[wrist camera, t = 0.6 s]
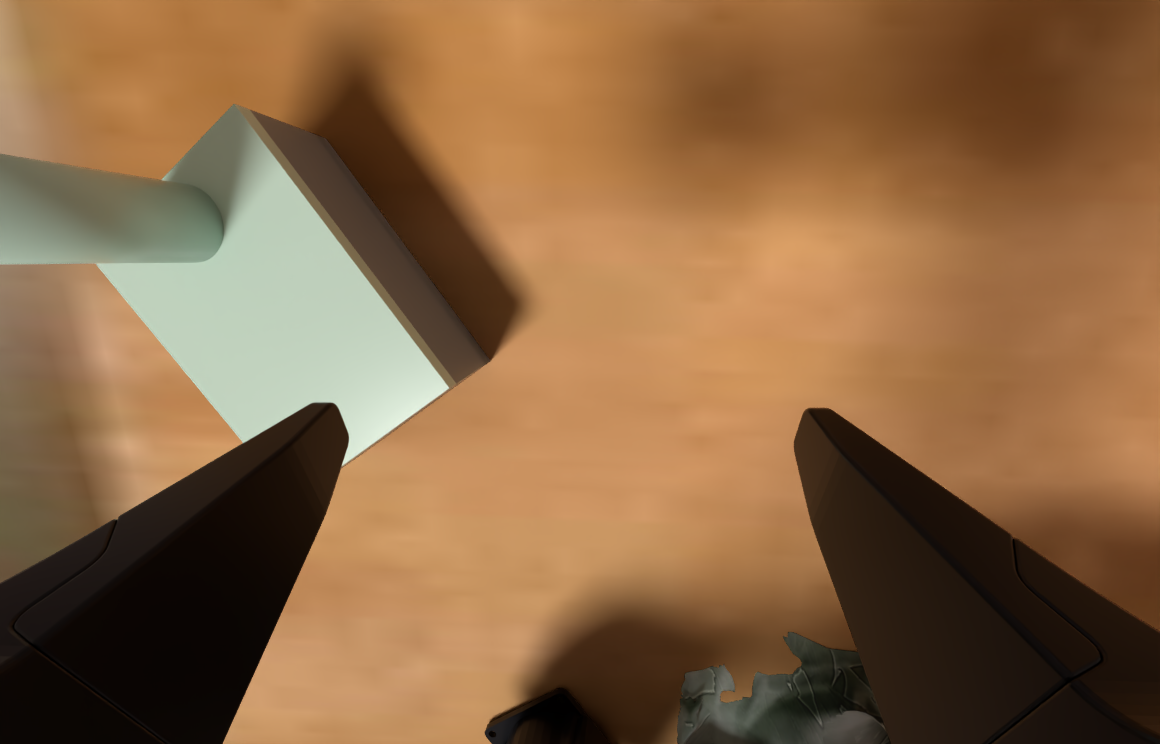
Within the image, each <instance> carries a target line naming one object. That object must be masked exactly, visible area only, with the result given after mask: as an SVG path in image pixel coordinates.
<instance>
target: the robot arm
mask: <svg viewBox="0 0 1160 744" xmlns="http://www.w3.org/2000/svg"><path fill="white" fill-rule="evenodd" d="M348 444H349V434H348V431H347V428H346V426H345V423H344V421H343V418H342V416H341V413H340V410H339V408H338V406H337V405H336V404H334V403H331V402H314V403H311V404H309V405H307V406H305V407H304V408H302V409H300V410H299V411H297V412H295V413H294V414H292V415H290V416H288V417H287V418H285V419H283V420H282V421H280V422H278V423H277V424H275V425H273V426H271V427H270V428H268V429H266V430H265V431H263V432H261V433H260V434H258V435H256V436H254V437H253V438H251V439H249V440H248V441H246V442H244V443H243V444H241V445H239V446H238V447H236V448H234V449H232V450H231V451H229V452H227V453H226V454H224V455H222V456H221V457H219V458H217V459H215V460H214V461H212V462H210V463H209V464H207V465H205V466H204V467H202V468H200V469H198V470H197V471H195V472H193V473H192V474H190V475H188V476H187V477H185V478H183V479H181V480H180V481H178V482H176V483H175V484H173V485H171V486H170V487H168V488H166V489H164V490H163V491H161V492H159V493H158V494H156V495H154V496H153V497H151V498H149V499H147V500H146V501H144V502H142V503H141V504H139V505H137V506H136V507H134V508H132V509H130V510H129V511H127V512H125V513H124V514H122V515H120V516H119V517H118V520H117V519H114V520H112V521H110V522H108V523H106V524H105V525H103V526H101V527H100V528H98V529H96V530H95V531H93V532H91V533H90V534H88V535H86V536H84V537H83V538H81V539H79V540H77V541H76V542H74V543H72V544H70V545H69V546H67V547H65V548H63V549H62V550H60V551H58V552H56V553H55V554H53V555H51V556H49V557H48V558H46V559H44V560H42V561H40V562H38V563H36V564H35V565H33V566H31V567H29V568H27V569H25V570H24V571H22V572H20V573H18V574H16V575H14V576H12V577H11V578H9V579H7V580H5V581H3V582H1V583H0V744H223V741H224V739H225V737H226V735H227V733H228V730H229V728H230V726H231V724H232V722H233V719H234V717H235V715H236V713H237V710H238V708H239V706H240V704H241V702H242V699H243V697H244V695H245V693H246V690H247V688H248V686H249V684H250V682H251V679H252V677H253V675H254V673H255V671H256V668H257V666H258V664H259V662H260V659H261V657H262V655H263V653H264V651H265V648H266V646H267V644H268V642H269V639H270V637H271V635H272V633H273V631H274V628H275V626H276V624H277V622H278V619H279V617H280V615H281V613H282V611H283V608H284V606H285V604H286V602H287V600H288V597H289V595H290V593H291V591H292V588H293V586H294V584H295V582H296V580H297V577H298V575H299V573H300V571H301V568H302V566H303V564H304V562H305V560H306V557H307V555H308V553H309V551H310V549H311V546H312V544H313V542H314V540H315V537H316V535H317V533H318V531H319V529H320V526H321V524H322V522H323V519H324V517H325V515H326V512H327V509H328V506H329V504H330V501H331V498H332V495H333V491H334V488H335V485H336V482H337V479H338V476H339V473H340V470H341V467H342V464H343V460H344V457H345V454H346V451H347V448H348ZM794 452H795V457H796V461H797V465H798V470H799V474H800V478H801V482H802V487H803V491H804V495H805V499H806V504H807V508H808V512H809V516H810V520H811V523H812V526H813V529H814V532H815V535H816V538H817V541H818V544H819V546H820V549H821V552H822V555H823V557H824V560H825V563H826V566H827V568H828V571H829V574H830V577H831V579H832V582H833V585H834V588H835V590H836V593H837V596H838V599H839V601H840V604H841V607H842V610H843V612H844V615H845V618H846V620H847V623H848V626H849V629H850V631H851V634H852V637H853V640H854V642H855V645H856V648H857V651H858V653H859V656H860V659H861V662H862V664H863V667H864V670H865V673H866V675H867V678H868V681H869V684H870V686H871V689H872V692H873V695H874V697H875V700H876V703H877V706H878V708H879V711H880V714H881V717H882V719H883V722H884V725H885V727H886V730H887V733H888V736H889V738H890V741H891V744H1160V631H1158V630H1157V629H1155V628H1153V627H1152V626H1150V625H1148V624H1147V623H1145V622H1144V621H1142V620H1140V619H1139V618H1137V617H1136V616H1134V615H1132V614H1131V613H1129V612H1127V611H1126V610H1124V609H1123V608H1121V607H1120V606H1118V605H1116V604H1115V603H1113V602H1112V601H1110V600H1109V599H1107V598H1105V597H1104V596H1102V595H1101V594H1099V593H1097V592H1096V591H1094V590H1093V589H1091V588H1090V587H1088V586H1086V585H1085V584H1083V583H1082V582H1080V581H1079V580H1077V579H1076V578H1074V577H1073V576H1071V575H1070V574H1068V573H1067V572H1065V571H1064V570H1062V569H1061V568H1059V567H1058V566H1056V565H1055V564H1053V563H1052V562H1051V561H1049V560H1048V559H1046V558H1045V557H1043V556H1042V555H1040V554H1039V553H1037V552H1036V551H1034V550H1033V549H1032V548H1030V547H1029V546H1027V545H1026V544H1024V543H1023V542H1022V541H1020V540H1019V539H1016V538H1014V539H1013V537H1012V535H1011V534H1010V533H1008V532H1007V531H1005V530H1004V529H1003V528H1001V527H1000V526H998V525H997V524H995V523H994V522H993V521H991V520H990V519H988V518H987V517H985V516H984V515H982V514H981V513H980V512H978V511H977V510H975V509H974V508H972V507H971V506H969V505H968V504H967V503H965V502H964V501H962V500H961V499H959V498H958V497H957V496H955V495H954V494H952V493H951V492H949V491H948V490H946V489H945V488H944V487H942V486H941V485H939V484H938V483H936V482H935V481H934V480H932V479H931V478H929V477H928V476H926V475H925V474H923V473H922V472H921V471H919V470H918V469H916V468H915V467H913V466H912V465H911V464H909V463H908V462H906V461H905V460H903V459H902V458H900V457H899V456H898V455H896V454H895V453H893V452H892V451H890V450H889V449H887V448H886V447H885V446H883V445H882V444H880V443H879V442H877V441H876V440H875V439H873V438H872V437H870V436H869V435H867V434H866V433H864V432H863V431H862V430H860V429H859V428H857V427H856V426H854V425H853V424H852V423H850V422H849V421H847V420H846V419H844V418H843V417H841V416H840V415H839V414H837V413H836V412H834V411H833V410H831V409H829V408H808V409H806V410H805V411H804V413H803V415H802V418H801V421H800V424H799V427H798V430H797V433H796V436H795V440H794ZM560 697H563V698H560ZM485 735H486V737H487V738H488V740H489V741H490V742H491V743H492V744H610V743H609V742H608V740H607V739H606V738H605V737H604V735H603V734H602V733H601V732H600V730H599V729H598V728H597V727H596V725H595V724H594V723H593V721H592V720H591V719H590V718H589V717H588V716H587V715H586V713H585V712H584V711H583V710H582V708H581V707H580V706H579V704H578V703H577V702H576V701H575V699H574V698H573V697H572V696H571V694H570V693H569V692H568V691H567V690H566V689H564V688H559V689H556V690H554V691H552V692H550V693H548V694H546V695H544V696H542V697H540V698H538V699H536V700H534V701H532V702H530V703H528V704H526V705H524V706H522V707H520V708H518V709H516V710H514V711H512V712H510V713H508V714H506V715H504V716H502V717H500V718H498V719H496V720H494V721H492V722H490V723H489V724H488V725H487V727H486V730H485Z"/></svg>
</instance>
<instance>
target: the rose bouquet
mask: <svg viewBox="0 0 1160 744" xmlns="http://www.w3.org/2000/svg"><path fill="white" fill-rule="evenodd" d="M783 638H784V640H785V642H786V644H787V645H788V647H789V648H790V650H791V651H792V653H793V654H794V655H796V656H797V657H798V658H799V659H800V660H801V662H802V665H801V666H800V667H799V668H797V669H796V671H794V673H793V674H790V675H788V674H776V675H766V674H761V673H760V672H757V673H756V674H755V676H754V681H753V687H752V696H751V697H750V698H749V697H743V698H742V700H739V701H734V702H729V703H724V702H721V701H720V697H721V696H720V694H721V692H722V691H733V692H735V685H734V681H733V678H732V676H731V675H730V673H729V672H728V671H727V670H726V668H725V666H724V664H723V666H720V665H719V668H717V667H713V666H711V667H709V668H706V669H704V670H698V671H694V672H687V673H685V676H684V677H685V681H684V683H683V685H682V687H681V691H682V694H681V696H682V699H680V705H681V708H680V712H679V715H678V726H677V733H678V736H677V742H678V744H891V741H890V738H889V736H888V733H887V730H886V727H885V725H884V722H883V719H882V717H881V714H880V711H879V708H878V706H877V703H876V700H875V697H874V695H873V692H872V689H871V686H870V684H869V681H868V678H867V675H866V673H865V670H864V667H863V664H862V662H861V659H860V656H859V653H858V652H852V651H844V650H837V649H829V648H826V647H824V646H822V645H820V644H817V643H815V642H813V641H811V640H809V639H807V638H805V637H802V636H800V635H798V634H796V633H794V632H788V637H784V636H783Z"/></svg>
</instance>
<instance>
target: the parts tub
mask: <svg viewBox="0 0 1160 744" xmlns="http://www.w3.org/2000/svg"><path fill="white" fill-rule="evenodd" d="M250 111H251V112H252V113H253V115H254V116H255V117H256V119H257V120H258V121H259V123H260V124H261V125H262V127H263V128H264V129H265V131H266V132H267V133H268V135H269V136H270V137H271V139H272V140H273V141H274V143H275V144H276V145H277V147H278V148H279V149H280V150H281V152H282V153H283V154H284V156H285V157H286V158H287V160H288V161H289V162H290V164H291V165H292V166H293V168H294V169H295V170H296V172H297V173H298V174H299V176H300V177H301V178H302V180H303V181H304V182H305V184H306V185H307V186H308V188H309V189H310V190H311V192H312V193H313V194H314V196H315V197H316V198H317V200H318V201H319V202H320V204H321V205H322V206H323V207H324V209H325V210H326V211H327V213H328V214H329V215H330V217H331V218H332V219H333V221H334V222H335V223H336V225H337V226H338V227H339V229H340V230H341V231H342V233H343V234H344V235H345V237H346V238H347V239H348V241H349V242H350V243H351V245H352V246H353V247H354V249H355V250H356V251H357V253H358V254H359V255H360V257H361V258H362V259H363V261H364V262H365V263H366V264H367V266H368V267H369V268H370V270H371V271H372V272H373V274H374V275H375V276H376V278H377V279H378V280H379V282H380V283H381V284H382V286H383V287H384V288H385V290H386V291H387V292H388V294H389V295H390V296H391V298H392V299H393V300H394V302H395V303H396V304H397V306H398V307H399V308H400V310H401V311H402V312H403V314H404V315H405V316H406V318H407V319H408V320H409V321H410V323H411V324H412V325H413V327H414V328H415V329H416V331H417V332H418V333H419V335H420V336H421V337H422V339H423V340H424V341H425V343H426V344H427V345H428V347H429V348H430V349H431V351H432V352H433V353H434V355H435V356H436V357H437V359H438V360H439V361H440V363H441V364H442V365H443V367H444V368H445V369H446V371H447V372H448V373H449V375H450V376H451V377H452V379H453V380H454V381H455V382H456V384H455V385H454V386H452V387H451V388H449V389H448V390H447V391H445V392H444V393H443V394H441V395H440V396H438V397H437V398H436V399H434V400H433V401H432V402H430V403H429V404H427V405H426V406H425V407H423V408H422V409H421V410H419V411H418V412H416V413H415V414H414V415H412V416H411V417H410V418H408V419H407V420H405V421H404V422H403V423H401V424H400V425H399V426H397V427H396V428H394V429H393V430H392V431H390V432H389V433H387V434H386V435H385V436H383V437H382V438H381V439H379V440H378V441H376V442H375V443H374V444H372V445H371V446H370V447H368V448H367V449H365V450H364V451H363V452H361V453H360V454H359V455H357V456H356V457H354V458H353V459H352V460H350V461H349V462H348V463H350V462H351V461H353V460H354V459H356V458H357V457H359V456H360V455H361V454H363V453H364V452H366V451H367V450H368V449H370V448H371V447H373V446H374V445H375V444H377V443H378V442H379V441H381V440H382V439H384V438H385V437H386V436H388V435H389V434H390V433H392V432H393V431H395V430H396V429H397V428H399V427H400V426H402V425H403V424H404V423H406V422H407V421H408V420H410V419H411V418H413V417H414V416H415V415H417V414H418V413H419V412H421V411H422V410H424V409H425V408H426V407H428V406H429V405H431V404H432V403H433V402H435V401H436V400H437V399H439V398H440V397H442V396H443V395H444V394H446V393H447V392H448V391H450V390H451V389H453V388H454V387H455V386H457V385H458V384H460V383H461V382H462V381H464V380H465V379H466V378H468V377H469V376H471V375H472V374H473V373H475V372H476V371H477V370H479V369H480V368H482V367H483V366H484V365H486V364H487V363H489V362H490V359H489V358H488V357H487V355H486V354H485V353H484V351H483V350H482V349H481V347H480V346H479V345H478V343H477V342H476V341H475V339H474V338H473V337H472V335H471V334H470V332H469V331H468V330H467V328H466V327H465V326H464V324H463V323H462V322H461V320H460V319H459V318H458V316H457V315H456V314H455V312H454V311H453V310H452V308H451V307H450V305H449V304H448V303H447V301H446V300H445V299H444V297H443V296H442V295H441V293H440V292H439V291H438V289H437V288H436V287H435V285H434V284H433V283H432V281H431V280H430V278H429V277H428V276H427V274H426V273H425V272H424V270H423V269H422V268H421V266H420V265H419V264H418V262H417V261H416V260H415V258H414V257H413V255H412V254H411V253H410V251H409V250H408V249H407V247H406V246H405V245H404V243H403V242H402V241H401V239H400V238H399V237H398V235H397V234H396V233H395V231H394V230H393V228H392V227H391V226H390V224H389V223H388V222H387V220H386V219H385V218H384V216H383V215H382V214H381V212H380V211H379V210H378V208H377V207H376V206H375V204H374V203H373V201H372V200H371V199H370V197H369V196H368V195H367V193H366V192H365V191H364V189H363V188H362V187H361V185H360V184H359V183H358V181H357V180H356V179H355V177H354V176H353V174H352V173H351V172H350V170H349V169H348V168H347V166H346V165H345V164H344V162H343V161H342V160H341V158H340V157H339V156H338V154H337V153H336V152H335V150H334V149H333V147H332V146H331V145H330V143H329V142H328V141H327V139H326V138H324V137H321V136H318V135H316V134H313V133H310V132H308V131H305V130H302V129H300V128H297V127H294V126H292V125H289V124H286V123H284V122H281V121H279V120H276V119H273V118H271V117H268V116H265V115H263V114H260V113H257V112H255V111H252V110H250ZM348 463H346V464H345V465H343V466H342V467H341V468H343V467H344V466H346V465H347V464H348Z"/></svg>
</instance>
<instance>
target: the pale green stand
mask: <svg viewBox="0 0 1160 744" xmlns="http://www.w3.org/2000/svg"><path fill="white" fill-rule="evenodd" d="M0 264H96V265H97V266H98V267H99V269H100V270H101V271H102V272H103V273H104V275H105V276H106V277H107V278H108V279H109V281H110V282H111V283H112V284H113V286H114V287H115V288H116V289H117V290H118V292H119V293H120V294H121V295H122V296H123V298H124V299H125V300H126V301H127V303H128V304H129V305H130V306H131V307H132V309H133V310H134V311H135V312H136V313H137V315H138V316H139V317H140V318H141V319H142V321H143V322H144V323H145V324H146V326H147V327H148V328H149V329H150V330H151V332H152V333H153V334H154V335H155V336H156V338H157V339H158V340H159V341H160V342H161V344H162V345H163V346H164V347H165V349H166V350H167V351H168V352H169V353H170V355H171V356H172V357H173V358H174V359H175V361H176V362H177V363H178V364H179V366H180V367H181V368H182V369H183V370H184V372H185V373H186V374H187V375H188V376H189V378H190V379H191V380H192V381H193V382H194V384H195V385H196V386H197V387H198V389H199V390H200V391H201V392H202V393H203V395H204V396H205V397H206V398H207V399H208V401H209V402H210V403H211V404H212V405H213V407H214V408H215V409H216V410H217V412H218V413H219V414H220V415H221V416H222V418H223V419H224V420H225V421H226V422H227V424H228V425H229V426H230V427H231V429H232V430H233V431H234V432H235V433H236V435H237V436H238V437H239V438H240V439H241V441H242V442H243V443H244V442H246V441H248V440H249V439H251V438H253V437H254V436H256V435H258V434H260V433H261V432H263V431H265V430H266V429H268V428H270V427H271V426H273V425H275V424H277V423H278V422H280V421H282V420H283V419H285V418H287V417H288V416H290V415H292V414H294V413H295V412H297V411H299V410H300V409H302V408H304V407H305V406H307V405H309V404H311V403H314V402H331V403H334V404H336V405H337V406H338V408H339V410H340V413H341V416H342V418H343V421H344V423H345V426H346V428H347V431H348V434H349V444H348V448H347V451H346V454H345V457H344V460H343V464H342V466H343V465H345V464H346V463H348V462H349V461H350V460H352V459H353V458H354V457H356V456H357V455H359V454H360V453H361V452H363V451H364V450H365V449H367V448H368V447H370V446H371V445H372V444H374V443H375V442H376V441H378V440H379V439H381V438H382V437H383V436H385V435H386V434H387V433H389V432H390V431H392V430H393V429H394V428H396V427H397V426H399V425H400V424H401V423H403V422H404V421H405V420H407V419H408V418H410V417H411V416H412V415H414V414H415V413H416V412H418V411H419V410H421V409H422V408H423V407H425V406H426V405H427V404H429V403H430V402H432V401H433V400H434V399H436V398H437V397H438V396H440V395H441V394H443V393H444V392H445V391H447V390H448V389H449V388H451V387H452V386H454V385H455V384H456V382H455V381H454V380H453V379H452V377H451V376H450V375H449V373H448V372H447V371H446V369H445V368H444V367H443V365H442V364H441V363H440V361H439V360H438V359H437V357H436V356H435V355H434V353H433V352H432V351H431V349H430V348H429V347H428V345H427V344H426V343H425V341H424V340H423V339H422V337H421V336H420V335H419V333H418V332H417V331H416V329H415V328H414V327H413V325H412V324H411V323H410V321H409V320H408V319H407V318H406V316H405V315H404V314H403V312H402V311H401V310H400V308H399V307H398V306H397V304H396V303H395V302H394V300H393V299H392V298H391V296H390V295H389V294H388V292H387V291H386V290H385V288H384V287H383V286H382V284H381V283H380V282H379V280H378V279H377V278H376V276H375V275H374V274H373V272H372V271H371V270H370V268H369V267H368V266H367V264H366V263H365V262H364V261H363V259H362V258H361V257H360V255H359V254H358V253H357V251H356V250H355V249H354V247H353V246H352V245H351V243H350V242H349V241H348V239H347V238H346V237H345V235H344V234H343V233H342V231H341V230H340V229H339V227H338V226H337V225H336V223H335V222H334V221H333V219H332V218H331V217H330V215H329V214H328V213H327V211H326V210H325V209H324V207H323V206H322V205H321V204H320V202H319V201H318V200H317V198H316V197H315V196H314V194H313V193H312V192H311V190H310V189H309V188H308V186H307V185H306V184H305V182H304V181H303V180H302V178H301V177H300V176H299V174H298V173H297V172H296V170H295V169H294V168H293V166H292V165H291V164H290V162H289V161H288V160H287V158H286V157H285V156H284V154H283V153H282V152H281V150H280V149H279V148H278V147H277V145H276V144H275V143H274V141H273V140H272V139H271V137H270V136H269V135H268V133H267V132H266V131H265V129H264V128H263V127H262V125H261V124H260V123H259V121H258V120H257V119H256V117H255V116H254V115H253V113H252V112H251V111H250V110H249V109H247V108H244V107H241V106H239V105H236V104H233V105H232V106H231V107H230V108H229V109H228V110H227V112H226V113H225V114H224V115H223V116H222V117H221V118H220V119H219V120H218V121H217V122H216V123H215V124H214V125H213V126H212V127H211V128H210V129H209V130H208V131H207V132H206V134H205V135H204V136H203V137H202V138H201V139H200V140H199V141H198V142H197V143H196V144H195V145H194V146H193V147H192V148H191V149H190V150H189V151H188V152H187V153H186V155H185V156H184V157H183V158H182V159H181V160H180V161H179V162H178V163H177V164H176V165H175V166H174V167H173V168H172V169H171V170H170V171H169V172H168V173H167V174H166V175H165V177H164V178H163V179H162V180H158V179H152V178H146V177H139V176H133V175H127V174H121V173H115V172H109V171H103V170H97V169H90V168H84V167H78V166H72V165H66V164H60V163H54V162H48V161H41V160H35V159H29V158H23V157H17V156H11V155H5V154H0Z"/></svg>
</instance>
